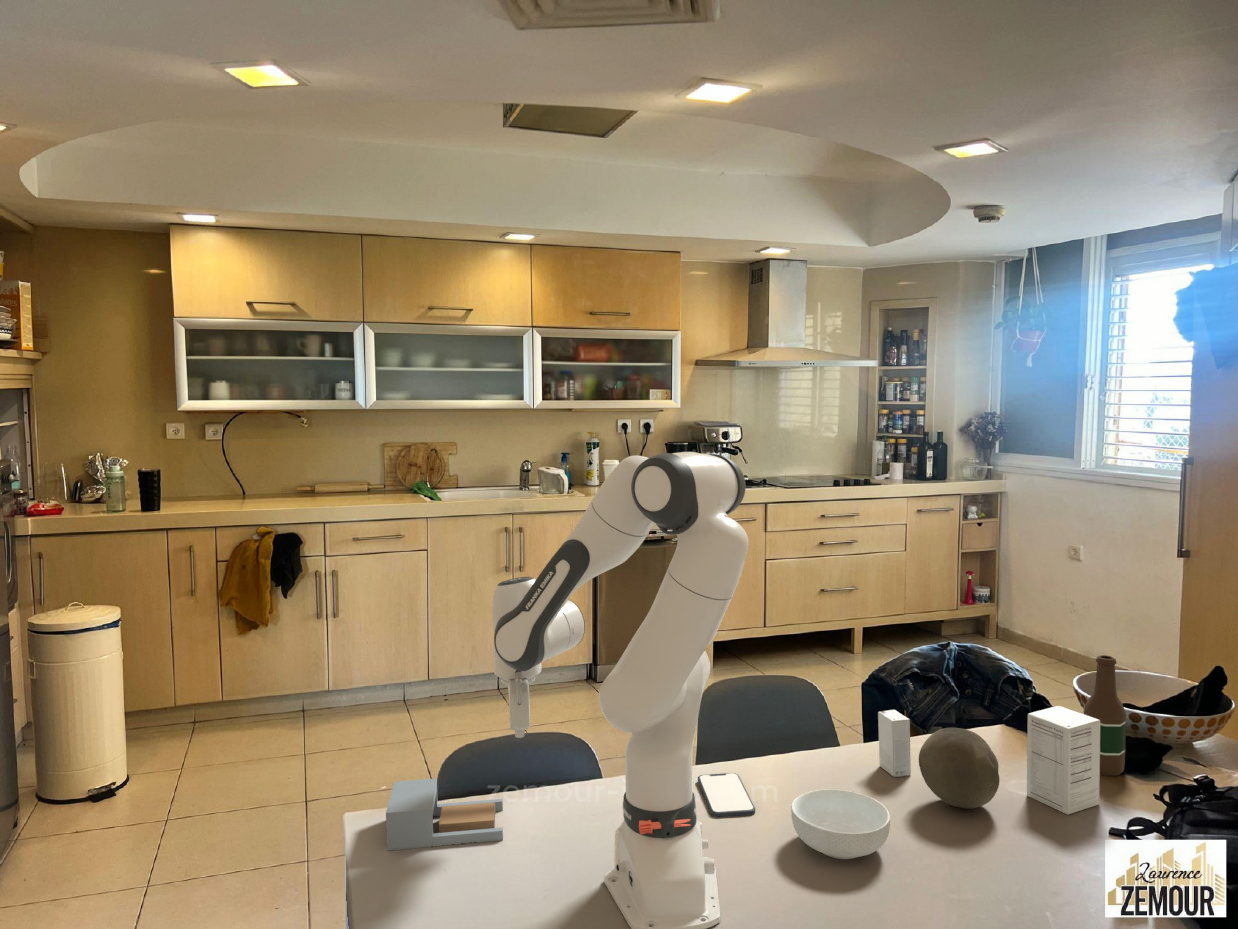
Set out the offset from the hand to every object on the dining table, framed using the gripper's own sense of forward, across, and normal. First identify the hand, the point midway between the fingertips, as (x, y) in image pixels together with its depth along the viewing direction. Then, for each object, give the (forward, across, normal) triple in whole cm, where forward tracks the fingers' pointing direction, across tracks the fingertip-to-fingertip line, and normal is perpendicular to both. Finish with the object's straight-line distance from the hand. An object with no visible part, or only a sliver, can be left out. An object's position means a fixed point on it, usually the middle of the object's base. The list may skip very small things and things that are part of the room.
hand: (519, 734), depth 162 cm
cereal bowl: (+17, -19, -55) cm, 61 cm away
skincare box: (+17, +8, -78) cm, 81 cm away
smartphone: (+18, +3, -40) cm, 44 cm away
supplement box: (+17, -10, -104) cm, 106 cm away
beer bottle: (+17, +1, -121) cm, 123 cm away
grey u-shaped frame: (+17, 0, +14) cm, 22 cm away
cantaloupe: (+17, -9, -83) cm, 86 cm away
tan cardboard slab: (+17, 0, +10) cm, 20 cm away
